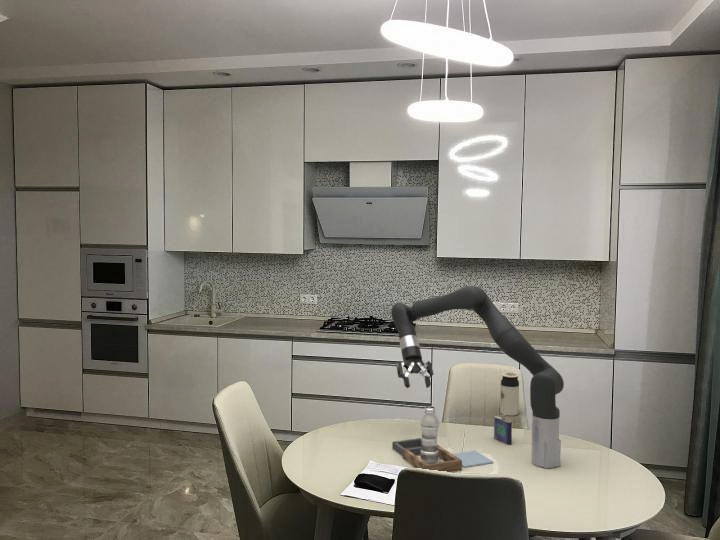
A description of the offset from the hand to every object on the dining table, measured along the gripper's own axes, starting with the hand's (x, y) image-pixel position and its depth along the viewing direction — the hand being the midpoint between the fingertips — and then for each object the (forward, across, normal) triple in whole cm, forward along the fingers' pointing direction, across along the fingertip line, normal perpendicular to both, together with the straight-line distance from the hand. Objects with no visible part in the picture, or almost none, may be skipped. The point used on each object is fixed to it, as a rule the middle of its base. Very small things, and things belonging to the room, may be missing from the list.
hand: (418, 387), depth 235 cm
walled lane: (+30, -3, -3) cm, 30 cm away
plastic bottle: (+29, -3, -1) cm, 30 cm away
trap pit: (+22, -3, +9) cm, 24 cm away
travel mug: (+1, +58, +30) cm, 66 cm away
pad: (+30, +12, -4) cm, 32 cm away
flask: (+21, +35, +6) cm, 41 cm away
